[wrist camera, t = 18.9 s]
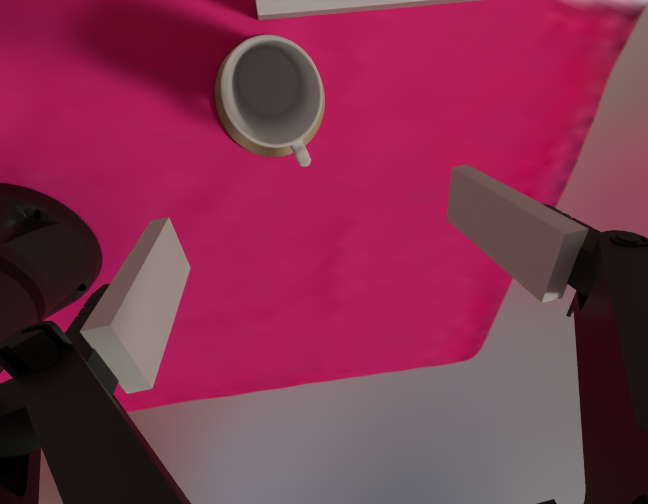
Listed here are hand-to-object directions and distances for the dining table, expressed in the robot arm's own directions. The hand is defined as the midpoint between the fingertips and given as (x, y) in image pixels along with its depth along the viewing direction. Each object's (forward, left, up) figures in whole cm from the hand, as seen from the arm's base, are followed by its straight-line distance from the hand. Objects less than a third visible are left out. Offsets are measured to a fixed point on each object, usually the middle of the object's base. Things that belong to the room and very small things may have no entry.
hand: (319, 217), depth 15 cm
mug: (-1, +3, -23) cm, 23 cm away
